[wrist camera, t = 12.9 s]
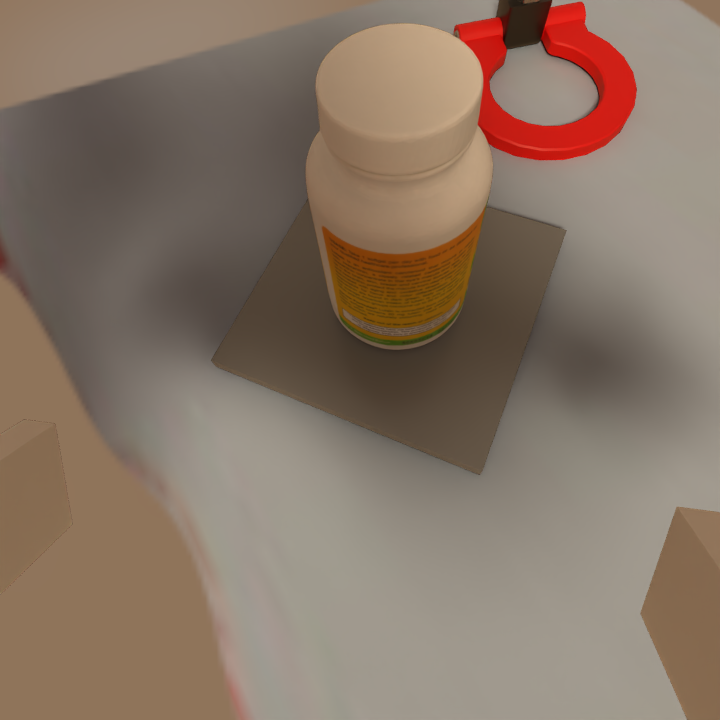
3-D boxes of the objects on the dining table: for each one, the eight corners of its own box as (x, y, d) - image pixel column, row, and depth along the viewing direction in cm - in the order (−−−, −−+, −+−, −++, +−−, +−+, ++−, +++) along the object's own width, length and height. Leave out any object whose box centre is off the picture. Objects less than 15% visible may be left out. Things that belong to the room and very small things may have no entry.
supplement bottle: (488, 321, 20) (563, 110, 11) (362, 375, 20) (336, 195, 11) (427, 221, 22) (449, -21, 13) (311, 267, 22) (255, 44, 13)
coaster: (216, 366, 21) (211, 360, 20) (332, 170, 25) (330, 160, 24) (479, 474, 18) (482, 471, 18) (562, 238, 22) (566, 230, 22)
